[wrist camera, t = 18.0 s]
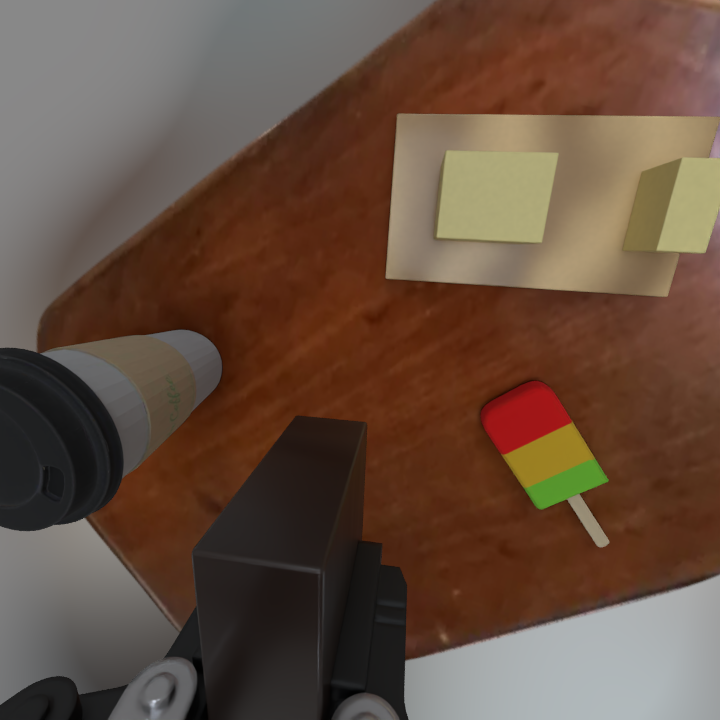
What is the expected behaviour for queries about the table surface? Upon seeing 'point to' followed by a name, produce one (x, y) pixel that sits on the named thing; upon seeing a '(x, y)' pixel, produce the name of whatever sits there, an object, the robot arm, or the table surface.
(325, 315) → the table surface
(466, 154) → the butter stick
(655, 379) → the table surface
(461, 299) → the table surface
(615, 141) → the board
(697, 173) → the butter pat
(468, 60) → the table surface
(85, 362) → the coffee cup
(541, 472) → the popsicle
